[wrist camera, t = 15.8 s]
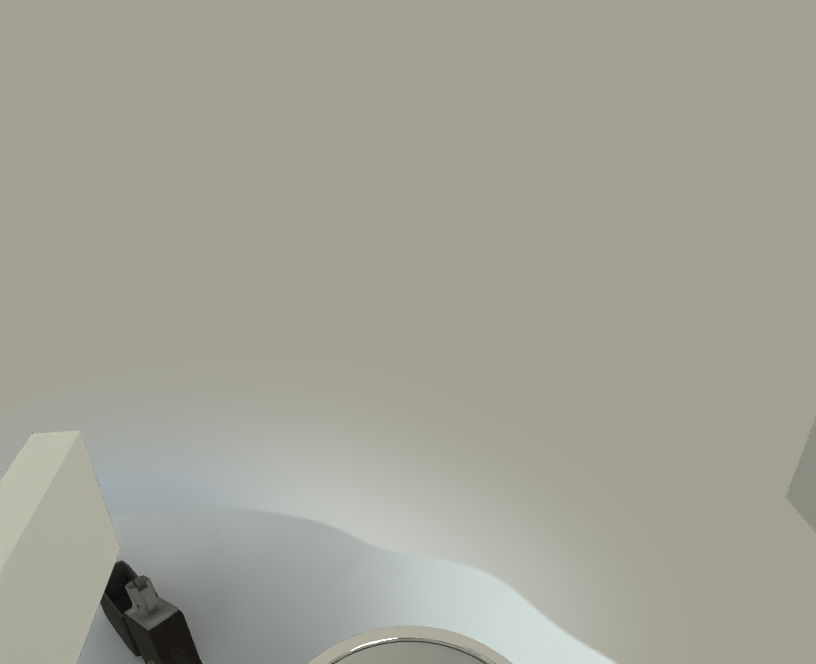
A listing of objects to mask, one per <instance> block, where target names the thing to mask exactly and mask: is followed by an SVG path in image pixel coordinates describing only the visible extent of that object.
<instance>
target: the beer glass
mask: <svg viewBox="0 0 816 664" xmlns="http://www.w3.org/2000/svg"><path fill="white" fill-rule="evenodd" d="M307 664H512V663H511V662H510V661H508V660H507V659H506V658H504V657H503V656H502V655H500V654H499V653H497V652H496V651H494V650H492V649H491V648H489V647H487V646H485V645H484V644H482V643H480V642H478V641H475V640H473V639H471V638H468V637H466V636H463V635H461V634H457V633H454V632H451V631H447V630H443V629H438V628H432V627H424V626H395V627H387V628H381V629H376V630H372V631H368V632H364V633H361V634H358V635H356V636H353V637H350V638H348V639H346V640H344V641H341V642H339V643H337V644H336V645H334V646H332V647H330V648H329V649H327V650H325V651H324V652H322V653H321V654H319V655H318V656H316V657H315V658H314V659H312V660H311V661H310V662H309V663H307Z"/></svg>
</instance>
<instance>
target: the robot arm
mask: <svg viewBox="0 0 816 664" xmlns="http://www.w3.org/2000/svg"><path fill="white" fill-rule="evenodd" d="M786 498H787V500H788V501H789V502H790V503H791V504H792V506H793V507H794V508H795V509H796V510H797V511H798V513H799V514H800V515H801V516H802V517H803V519H804V520H805V521H806V522H807V523H808V525H809V526H810V527H811V528H812V529H813V530H814V532H815V533H816V418H815V420H814V423H813V425H812V428H811V431H810V433H809V436H808V439H807V441H806V444H805V447H804V449H803V452H802V455H801V457H800V460H799V463H798V465H797V468H796V471H795V473H794V477H793V479H792V481H791V484H790V487H789V489H788V492H787V495H786ZM119 551H120V546H119V543H118V540H117V537H116V534H115V531H114V528H113V525H112V522H111V519H110V516H109V513H108V510H107V507H106V504H105V501H104V498H103V495H102V493H101V490H100V487H99V483H98V480H97V478H96V475H95V472H94V469H93V466H92V463H91V460H90V457H89V454H88V451H87V448H86V445H85V442H84V439H83V436H82V433H81V430H77V431H62V432H47V433H32V434H31V435H30V437H29V439H28V440H27V442H26V443H25V444H24V446H23V447H22V449H21V450H20V452H19V454H18V455H17V457H16V458H15V460H14V461H13V463H12V464H11V465H10V467H9V468H8V470H7V472H6V473H5V474H4V476H3V477H2V479H1V480H0V664H77V661H78V659H79V656H80V653H81V651H82V648H83V645H84V643H85V640H86V638H87V635H88V632H89V630H90V627H91V625H92V622H93V619H94V617H95V614H96V611H97V609H98V606H99V604H100V601H101V598H102V596H103V593H104V591H105V588H106V585H107V583H108V580H109V577H110V575H111V572H112V570H113V567H114V564H115V562H116V559H117V557H118V554H119Z"/></svg>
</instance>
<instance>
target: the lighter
mask: <svg viewBox="0 0 816 664" xmlns="http://www.w3.org/2000/svg"><path fill="white" fill-rule="evenodd" d="M100 603H101V605H102V608H103V610H104V613H105V614H106V616H107V618H108V619H109V621H110V622H111V624H112V626H113V627H114V628H115V630H116V631H117V633H118V634H119V636H120V637H121V638H122V640H123V641H124V642H125V644H126V645H127V646H128V648H129V649H130V650H131V651H132V652H133V653H134V654H135V655H136V656H141V655H142V657H143V659H144V661H145V663H146V664H202V662H201V660H200V658H199V656H198V653H197V650H196V647H195V645H194V642H193V639H192V637H191V634H190V631H189V628H188V626H187V623H186V620H185V618H184V615H183V613H182V612H181V611H180V610H178V608H177V607H175V606H173V605H172V604H170V603H168V602H166V601H165V600H163V599H161V598H160V597H158V595H157V593H156V592H155V589H154V587H153V585H152V583H151V581H150V579H149V578H148V577H146V576H144V575H143V576H140V577H138V576H137V574H136V573H135V572H134V571H133V570H132V569H131V568H130V566H129V565H128V564H126V563H125V562H124V561H119V562H117V563H115V564H114V567H113V570H112V572H111V575H110V577H109V580H108V583H107V585H106V588H105V591H104V593H103V596H102V598H101V601H100Z"/></svg>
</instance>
